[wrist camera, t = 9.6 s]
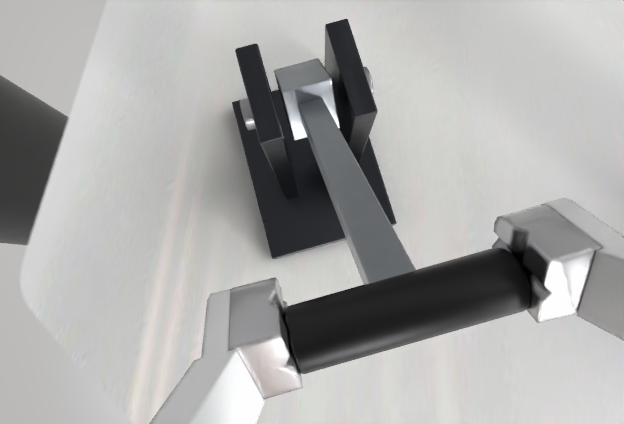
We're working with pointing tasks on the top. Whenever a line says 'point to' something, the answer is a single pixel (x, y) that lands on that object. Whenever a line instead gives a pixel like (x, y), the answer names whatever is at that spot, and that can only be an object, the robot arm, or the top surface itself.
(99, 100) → the top surface
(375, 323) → the lever
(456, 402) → the top surface
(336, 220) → the bracket
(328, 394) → the top surface
